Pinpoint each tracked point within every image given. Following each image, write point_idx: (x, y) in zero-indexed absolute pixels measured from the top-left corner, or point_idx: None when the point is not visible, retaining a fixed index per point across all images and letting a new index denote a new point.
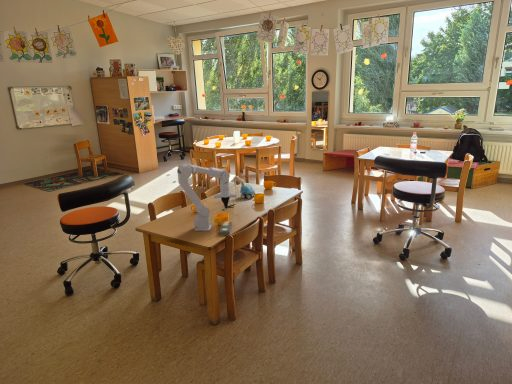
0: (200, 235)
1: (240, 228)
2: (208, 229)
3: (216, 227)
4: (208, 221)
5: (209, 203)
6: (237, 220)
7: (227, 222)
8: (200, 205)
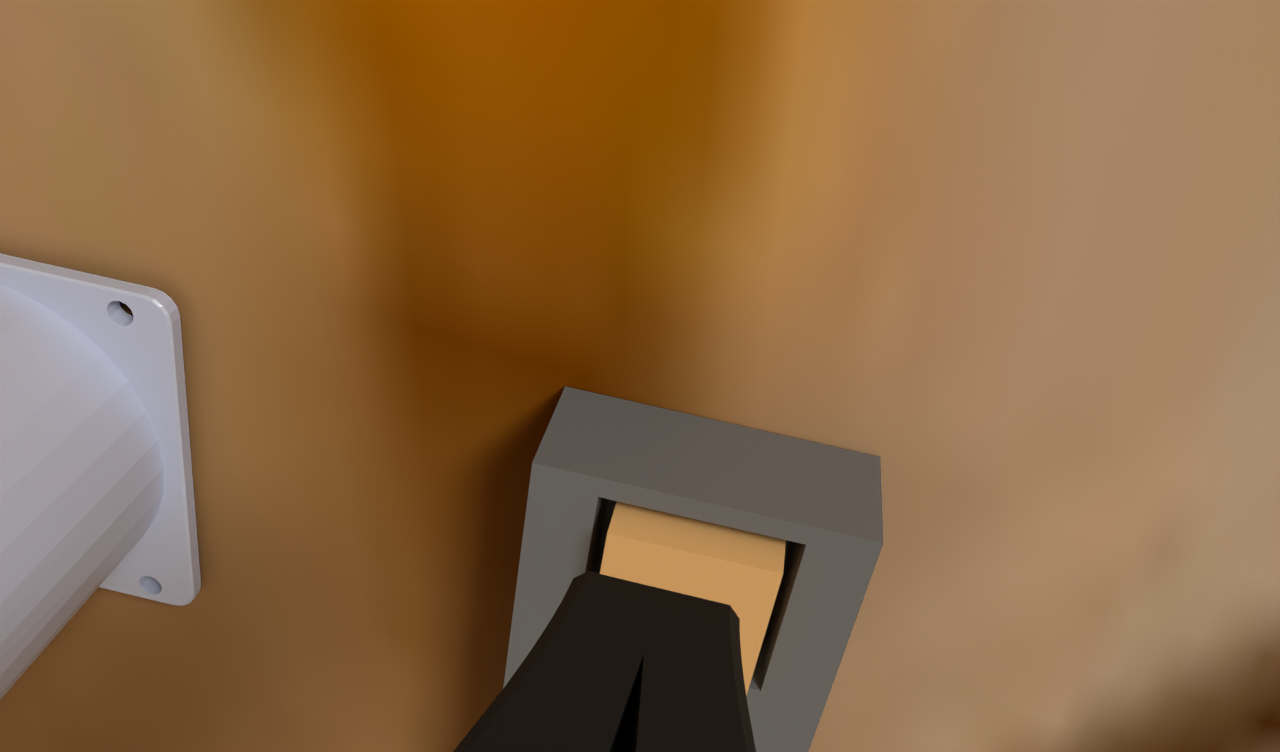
0: (60, 742)
1: (1084, 734)
2: (160, 579)
3: (366, 460)
4: (17, 672)
5: None
6: (1217, 59)
7: None
8: None
